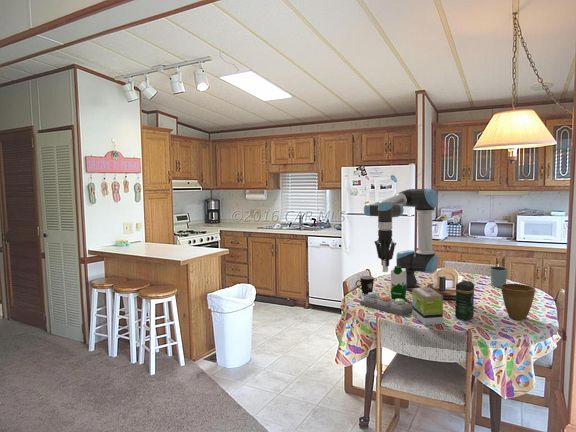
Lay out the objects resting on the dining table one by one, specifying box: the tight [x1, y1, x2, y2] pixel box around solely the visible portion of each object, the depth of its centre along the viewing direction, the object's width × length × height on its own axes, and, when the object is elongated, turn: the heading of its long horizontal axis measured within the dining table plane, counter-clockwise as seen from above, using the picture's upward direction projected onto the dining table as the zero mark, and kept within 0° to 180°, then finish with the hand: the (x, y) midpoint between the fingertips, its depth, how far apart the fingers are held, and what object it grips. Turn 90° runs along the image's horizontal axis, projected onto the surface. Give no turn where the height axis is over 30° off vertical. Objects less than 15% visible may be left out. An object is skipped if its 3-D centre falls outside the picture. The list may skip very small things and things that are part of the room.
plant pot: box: [500, 283, 536, 321], centre depth 199 cm, size 15×15×16 cm
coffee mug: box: [355, 275, 375, 295], centre depth 250 cm, size 12×9×10 cm
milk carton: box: [390, 265, 407, 301], centre depth 235 cm, size 9×9×20 cm
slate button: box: [367, 291, 377, 298], centre depth 227 cm, size 5×5×2 cm
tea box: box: [411, 287, 444, 326], centre depth 199 cm, size 15×10×15 cm
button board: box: [359, 294, 412, 317], centre depth 220 cm, size 28×10×4 cm, turn 41°
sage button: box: [394, 299, 405, 305], centre depth 213 cm, size 5×5×2 cm
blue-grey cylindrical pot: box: [489, 266, 508, 288], centre depth 257 cm, size 10×10×12 cm
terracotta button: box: [380, 294, 391, 302], centre depth 220 cm, size 5×5×2 cm
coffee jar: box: [454, 280, 475, 321], centre depth 201 cm, size 10×8×19 cm
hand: (385, 271), depth 219 cm, fingers closed
